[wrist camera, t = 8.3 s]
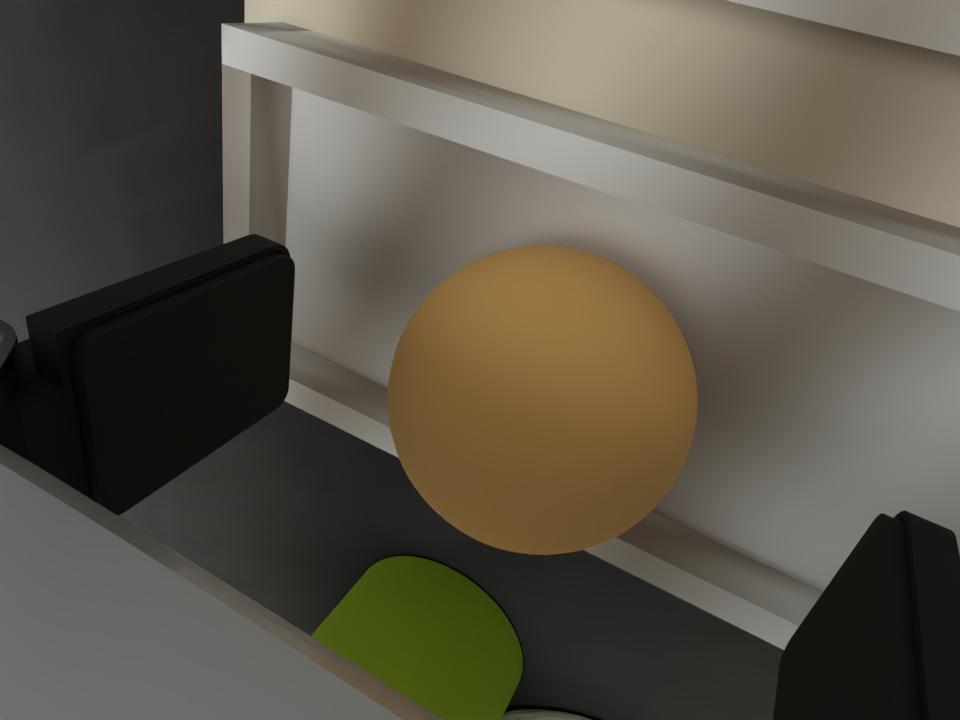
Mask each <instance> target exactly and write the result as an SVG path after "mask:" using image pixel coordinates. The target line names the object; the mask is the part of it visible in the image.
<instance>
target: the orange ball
mask: <svg viewBox="0 0 960 720" xmlns="http://www.w3.org/2000/svg"><path fill="white" fill-rule="evenodd" d="M387 394H388V419H389V424H390V430H391V434H392V438H393V441H394V444H395V448H396V451H397V454H398V457H399V459H400V462H401V464H402V466H403V468H404V470H405V472H406V474H407V476H408V478H409V479H410V481H411V482H412V484H413V485H414V487H415V488H416V490H417V491H418V492H419V494H420V495H421V496H422V497H423V499H424V500H425V501H426V502H427V503H428V504H429V505H430V506H431V507H432V508H433V509H434V510H435V511H436V512H437V513H438V514H439V515H440V516H441V517H442V518H444V519H445V520H446V521H447V522H448V523H450V524H451V525H453V526H454V527H455V528H457V529H458V530H460V531H461V532H463V533H465V534H467V535H468V536H470V537H472V538H474V539H476V540H478V541H480V542H482V543H484V544H487V545H490V546H493V547H496V548H499V549H503V550H507V551H511V552H518V553H525V554H532V555H553V554H562V553H570V552H576V551H580V550H584V549H588V548H591V547H593V546H596V545H598V544H601V543H603V542H606V541H608V540H610V539H613V538H615V537H617V536H618V535H620V534H622V533H623V532H625V531H626V530H628V529H630V528H631V527H632V526H634V525H635V524H637V523H638V522H639V521H641V520H642V519H643V518H644V517H645V516H646V515H647V514H649V513H650V512H651V511H652V510H653V509H654V508H655V506H656V505H657V504H658V503H659V502H660V501H661V500H662V498H663V497H664V496H665V495H666V494H667V492H668V491H669V490H670V489H671V487H672V485H673V483H674V482H675V480H676V478H677V476H678V475H679V473H680V471H681V469H682V467H683V465H684V464H685V461H686V458H687V456H688V453H689V450H690V447H691V444H692V440H693V436H694V431H695V425H696V420H697V400H698V399H697V384H696V375H695V369H694V366H693V362H692V358H691V354H690V352H689V349H688V347H687V344H686V342H685V339H684V337H683V335H682V332H681V330H680V328H679V327H678V325H677V323H676V321H675V320H674V318H673V316H672V315H671V313H670V312H669V310H668V309H667V308H666V307H665V305H664V304H663V303H662V301H661V300H660V299H659V298H658V297H657V296H656V295H655V294H654V293H653V292H652V291H651V290H650V289H649V288H648V287H647V286H646V285H645V284H644V283H643V282H642V281H640V280H639V279H638V278H636V277H635V276H634V275H633V274H631V273H630V272H628V271H627V270H625V269H623V268H622V267H620V266H618V265H617V264H615V263H613V262H611V261H609V260H606V259H604V258H602V257H600V256H597V255H594V254H591V253H588V252H584V251H581V250H577V249H571V248H565V247H559V246H544V245H534V246H525V247H517V248H511V249H507V250H503V251H499V252H495V253H492V254H489V255H487V256H485V257H482V258H480V259H478V260H475V261H473V262H471V263H469V264H467V265H465V266H464V267H462V268H461V269H459V270H457V271H456V272H454V273H453V274H451V275H450V276H449V277H448V278H446V279H445V280H444V281H443V282H441V283H440V284H439V285H438V286H437V287H436V288H435V289H434V290H432V291H431V292H430V293H429V295H428V296H427V297H426V298H425V300H424V301H423V302H422V303H421V305H420V306H419V307H418V308H417V310H416V311H415V312H414V313H413V315H412V317H411V318H410V320H409V322H408V324H407V325H406V327H405V329H404V331H403V333H402V335H401V337H400V340H399V342H398V345H397V347H396V350H395V353H394V357H393V361H392V366H391V370H390V375H389V380H388V393H387Z"/></svg>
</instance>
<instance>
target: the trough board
mask: <svg viewBox="0 0 960 720" xmlns="http://www.w3.org/2000/svg"><path fill="white" fill-rule="evenodd" d="M222 125H223V236H224V244H225V243H228V242H231V241H233V240H236V239H239V238H242V237H244V236H247V235H250V234H257V235H260V236H263V237H265V238H267V239H270V240H272V241H274V242H277V243H279V244H281V245H284V246H285V247H286V248H287V249H288V251H289V253H290V258H291V259H292V260H293V261H294V263H295V282H294V301H293V320H292V339H291V358H290V377H289V390H288V394H287V396H286V398H285V400H284V401H286V402H288V403H290V404H292V405H294V406H296V407H298V408H300V409H302V410H304V411H306V412H308V413H310V414H312V415H314V416H316V417H318V418H320V419H322V420H324V421H326V422H328V423H330V424H332V425H334V426H336V427H338V428H340V429H342V430H344V431H346V432H348V433H350V434H352V435H354V436H356V437H358V438H360V439H362V440H364V441H366V442H368V443H370V444H372V445H374V446H376V447H378V448H380V449H382V450H384V451H386V452H388V453H390V454H392V455H394V456H396V457H398V454H397V451H396V448H395V444H394V441H393V438H392V434H391V430H390V424H389V419H388V394H387V393H388V380H389V375H390V370H391V366H392V361H393V357H394V353H395V350H396V347H397V345H398V342H399V340H400V337H401V335H402V333H403V331H404V329H405V327H406V325H407V324H408V322H409V320H410V318H411V317H412V315H413V313H414V312H415V311H416V310H417V308H418V307H419V306H420V305H421V303H422V302H423V301H424V300H425V298H426V297H427V296H428V295H429V293H430V292H431V291H432V290H434V289H435V288H436V287H437V286H438V285H439V284H440V283H441V282H443V281H444V280H445V279H446V278H448V277H449V276H450V275H451V274H453V273H454V272H456V271H457V270H459V269H461V268H462V267H464V266H465V265H467V264H469V263H471V262H473V261H475V260H478V259H480V258H482V257H485V256H487V255H489V254H492V253H495V252H499V251H503V250H507V249H511V248H517V247H525V246H534V245H544V246H559V247H565V248H571V249H577V250H581V251H584V252H588V253H591V254H594V255H597V256H600V257H602V258H604V259H606V260H609V261H611V262H613V263H615V264H617V265H618V266H620V267H622V268H623V269H625V270H627V271H628V272H630V273H631V274H633V275H634V276H635V277H636V278H638V279H639V280H640V281H642V282H643V283H644V284H645V285H646V286H647V287H648V288H649V289H650V290H651V291H652V292H653V293H654V294H655V295H656V296H657V297H658V298H659V299H660V300H661V301H662V303H663V304H664V305H665V307H666V308H667V309H668V310H669V312H670V313H671V315H672V316H673V318H674V320H675V321H676V323H677V325H678V327H679V328H680V330H681V332H682V335H683V337H684V339H685V342H686V344H687V347H688V349H689V352H690V354H691V358H692V362H693V366H694V369H695V375H696V384H697V399H698V400H697V420H696V425H695V431H694V436H693V440H692V444H691V447H690V450H689V453H688V456H687V458H686V461H685V464H684V465H683V467H682V469H681V471H680V473H679V475H678V476H677V478H676V480H675V482H674V483H673V485H672V487H671V489H670V490H669V491H668V492H667V494H666V495H665V496H664V497H663V498H662V500H661V501H660V502H659V503H658V504H657V505H656V506H655V508H654V509H653V510H652V511H651V512H650V513H649V514H647V515H646V516H645V517H644V518H643V519H642V520H641V521H639V522H638V523H637V524H635V525H634V526H632V527H631V528H630V529H628V530H626V531H625V532H623V533H622V534H620V535H618V536H617V537H615V538H613V539H610V540H608V541H606V542H603V543H601V544H598V545H596V546H593V547H591V548H588V549H584V551H586V552H588V553H590V554H592V555H594V556H596V557H598V558H600V559H602V560H604V561H606V562H608V563H610V564H612V565H614V566H616V567H618V568H620V569H622V570H624V571H626V572H628V573H630V574H632V575H634V576H636V577H638V578H640V579H642V580H644V581H646V582H648V583H650V584H652V585H654V586H656V587H658V588H660V589H662V590H664V591H666V592H668V593H670V594H672V595H674V596H676V597H678V598H680V599H682V600H684V601H686V602H688V603H690V604H692V605H694V606H696V607H698V608H700V609H702V610H704V611H706V612H708V613H710V614H712V615H714V616H716V617H718V618H721V619H723V620H725V621H727V622H729V623H731V624H733V625H735V626H737V627H739V628H741V629H743V630H745V631H747V632H749V633H751V634H753V635H755V636H757V637H759V638H761V639H763V640H765V641H767V642H769V643H771V644H773V645H775V646H777V647H779V648H781V649H783V650H785V648H786V646H787V644H788V642H789V640H790V639H791V637H792V636H793V634H794V633H795V631H796V630H797V629H798V627H799V626H800V624H801V623H802V621H803V620H804V619H805V617H806V616H807V614H808V613H809V612H810V610H811V609H812V607H813V606H814V604H815V603H816V602H817V600H818V599H819V597H820V596H821V594H822V593H823V592H824V590H825V589H826V587H827V586H828V585H829V583H830V582H831V580H832V579H833V577H834V576H835V575H836V573H837V572H838V570H839V569H840V567H841V566H842V565H843V563H844V562H845V560H846V559H847V558H848V556H849V555H850V553H851V552H852V550H853V549H854V548H855V546H856V545H857V543H858V542H859V540H860V539H861V538H862V536H863V535H864V533H865V532H866V530H867V529H868V528H869V526H870V525H871V523H872V522H873V521H874V519H875V518H876V517H877V516H878V515H879V514H882V513H884V514H886V515H888V516H891V517H893V518H894V517H895V516H896V515H897V514H898V513H899V512H901V511H908V512H910V513H912V514H915V515H917V516H919V517H922V518H924V519H926V520H929V521H931V522H933V523H936V524H938V525H940V526H943V527H945V528H948V529H950V530H952V531H953V532H954V533H955V536H956V539H957V544H958V550H959V555H960V0H245V23H222ZM398 458H399V457H398Z"/></svg>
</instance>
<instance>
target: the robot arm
mask: <svg viewBox="0 0 960 720" xmlns="http://www.w3.org/2000/svg"><path fill="white" fill-rule="evenodd" d="M294 282H295V263H294V261H293V260H292V259H291V258H290V253H289V251H288V249H287V248H286V247H285V246H284V245H281V244H279V243H277V242H274V241H272V240H270V239H267V238H265V237H263V236H260V235H257V234H250V235H247V236H244V237H242V238H239V239H236V240H233V241H231V242H228V243H225V244H222V245H220V246H217V247H214V248H211V249H209V250H206V251H203V252H200V253H198V254H195V255H192V256H190V257H187V258H184V259H181V260H179V261H176V262H173V263H170V264H168V265H165V266H162V267H159V268H157V269H154V270H151V271H148V272H146V273H143V274H140V275H138V276H135V277H132V278H129V279H127V280H124V281H121V282H118V283H116V284H113V285H110V286H107V287H105V288H102V289H99V290H96V291H94V292H91V293H88V294H86V295H83V296H80V297H77V298H75V299H72V300H69V301H66V302H64V303H61V304H58V305H55V306H53V307H50V308H47V309H44V310H42V311H39V312H36V313H34V314H31V315H28V316H26V321H27V327H28V332H29V337H30V339H27V340H25V341H22V342H20V343H18V340H17V335H16V333H15V331H14V329H13V327H12V326H10V325H9V324H7V323H6V322H4V321H2V320H0V720H442V719H441V718H439V717H438V716H436V715H435V714H433V713H431V712H430V711H428V710H427V709H425V708H424V707H422V706H420V705H419V704H417V703H416V702H414V701H413V700H411V699H409V698H408V697H406V696H405V695H403V694H401V693H400V692H398V691H397V690H395V689H394V688H392V687H390V686H389V685H387V684H386V683H384V682H383V681H381V680H379V679H378V678H376V677H375V676H373V675H372V674H370V673H368V672H367V671H365V670H364V669H362V668H360V667H359V666H357V665H356V664H354V663H352V662H351V661H349V660H348V659H346V658H345V657H343V656H341V655H340V654H338V653H337V652H335V651H333V650H332V649H330V648H329V647H327V646H325V645H324V644H322V643H321V642H319V641H317V640H316V639H314V638H313V637H311V636H309V635H308V634H306V633H305V632H303V631H302V630H300V629H298V628H297V627H295V626H294V625H292V624H290V623H289V622H287V621H286V620H284V619H282V618H281V617H279V616H278V615H276V614H274V613H273V612H271V611H270V610H268V609H266V608H265V607H263V606H262V605H260V604H259V603H257V602H255V601H254V600H252V599H251V598H249V597H247V596H246V595H244V594H243V593H241V592H239V591H238V590H236V589H235V588H233V587H231V586H230V585H228V584H227V583H225V582H223V581H222V580H220V579H219V578H217V577H215V576H214V575H212V574H211V573H209V572H207V571H206V570H204V569H203V568H201V567H199V566H198V565H196V564H195V563H193V562H191V561H190V560H188V559H187V558H185V557H183V556H182V555H180V554H179V553H177V552H175V551H174V550H172V549H171V548H169V547H167V546H166V545H164V544H163V543H161V542H159V541H158V540H156V539H154V538H153V537H151V536H150V535H148V534H146V533H145V532H143V531H141V530H140V529H138V528H137V527H135V526H133V525H132V524H130V523H129V522H127V521H125V520H124V519H122V518H120V517H119V516H118V515H120V514H122V513H124V512H125V511H127V510H128V509H130V508H131V507H133V506H134V505H136V504H137V503H139V502H140V501H142V500H143V499H145V498H146V497H148V496H149V495H150V494H152V493H153V492H155V491H156V490H158V489H159V488H161V487H162V486H164V485H165V484H167V483H168V482H170V481H171V480H172V479H174V478H175V477H177V476H178V475H180V474H181V473H183V472H184V471H186V470H187V469H189V468H190V467H192V466H193V465H195V464H196V463H197V462H199V461H200V460H202V459H203V458H205V457H206V456H208V455H209V454H211V453H212V452H214V451H215V450H217V449H218V448H219V447H221V446H222V445H224V444H225V443H227V442H228V441H230V440H231V439H233V438H234V437H236V436H237V435H239V434H240V433H242V432H243V431H244V430H246V429H247V428H249V427H250V426H252V425H253V424H255V423H256V422H258V421H259V420H261V419H262V418H264V417H265V416H267V415H268V414H269V413H271V412H272V411H274V410H275V409H277V408H278V407H279V406H280V405H281V404H282V403H283V402H284V400H285V398H286V396H287V394H288V390H289V377H290V358H291V339H292V320H293V301H294ZM773 720H960V555H959V550H958V544H957V539H956V536H955V533H954V532H953V531H952V530H950V529H948V528H945V527H943V526H940V525H938V524H936V523H933V522H931V521H929V520H926V519H924V518H922V517H919V516H917V515H915V514H912V513H910V512H908V511H901V512H899V513H898V514H897V515H896V516H895V517H894V518H893V517H891V516H888V515H886V514H884V513H882V514H879V515H878V516H877V517H876V518H875V519H874V521H873V522H872V523H871V525H870V526H869V528H868V529H867V530H866V532H865V533H864V535H863V536H862V538H861V539H860V540H859V542H858V543H857V545H856V546H855V548H854V549H853V550H852V552H851V553H850V555H849V556H848V558H847V559H846V560H845V562H844V563H843V565H842V566H841V567H840V569H839V570H838V572H837V573H836V575H835V576H834V577H833V579H832V580H831V582H830V583H829V585H828V586H827V587H826V589H825V590H824V592H823V593H822V594H821V596H820V597H819V599H818V600H817V602H816V603H815V604H814V606H813V607H812V609H811V610H810V612H809V613H808V614H807V616H806V617H805V619H804V620H803V621H802V623H801V624H800V626H799V627H798V629H797V630H796V631H795V633H794V634H793V636H792V637H791V639H790V640H789V642H788V644H787V646H786V648H785V650H784V653H783V655H782V658H781V662H780V667H779V675H778V684H777V692H776V700H775V708H774V716H773Z"/></svg>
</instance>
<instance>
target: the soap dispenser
mask: <svg viewBox="0 0 960 720" xmlns="http://www.w3.org/2000/svg"><path fill="white" fill-rule="evenodd" d="M311 637H313V638H314V639H316V640H317V641H319V642H321V643H322V644H324V645H325V646H327V647H329V648H330V649H332V650H333V651H335V652H337V653H338V654H340V655H341V656H343V657H345V658H346V659H348V660H349V661H351V662H352V663H354V664H356V665H357V666H359V667H360V668H362V669H364V670H365V671H367V672H368V673H370V674H372V675H373V676H375V677H376V678H378V679H379V680H381V681H383V682H384V683H386V684H387V685H389V686H390V687H392V688H394V689H395V690H397V691H398V692H400V693H401V694H403V695H405V696H406V697H408V698H409V699H411V700H413V701H414V702H416V703H417V704H419V705H420V706H422V707H424V708H425V709H427V710H428V711H430V712H431V713H433V714H435V715H436V716H438V717H439V718H441V719H442V720H501V719H502V717H503V715H504V713H505V711H506V709H507V707H508V704H509V702H510V700H511V698H512V696H513V694H514V692H515V690H516V688H517V686H518V684H519V681H520V679H521V676H522V670H523V656H522V650H521V646H520V643H519V640H518V637H517V635H516V633H515V631H514V629H513V627H512V625H511V623H510V622H509V620H508V618H507V617H506V616H505V614H504V613H503V611H502V610H501V609H500V608H499V606H498V605H497V604H496V603H495V602H494V601H493V600H492V599H491V598H490V597H489V596H488V595H487V594H486V593H485V592H484V591H483V590H482V589H481V588H480V587H478V586H477V585H476V584H475V583H473V582H472V581H471V580H469V579H468V578H466V577H465V576H463V575H462V574H460V573H458V572H457V571H455V570H453V569H451V568H449V567H447V566H445V565H442V564H440V563H437V562H435V561H431V560H428V559H424V558H420V557H414V556H395V557H390V558H386V559H383V560H381V561H379V562H377V563H375V564H374V565H373V566H371V567H370V568H369V569H368V570H367V571H366V572H365V574H364V575H363V576H362V577H361V578H360V579H359V581H358V582H357V583H356V584H355V585H354V586H353V588H352V589H351V590H350V591H349V592H348V593H347V595H346V596H345V597H344V598H343V599H342V600H341V602H340V603H339V604H338V605H337V606H336V607H335V609H334V610H333V611H332V612H331V613H330V614H329V616H328V617H327V618H326V619H325V620H324V622H323V623H322V624H321V625H320V626H319V627H318V629H317V630H316V631H315V632H314V633H313V634H312V636H311Z"/></svg>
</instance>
